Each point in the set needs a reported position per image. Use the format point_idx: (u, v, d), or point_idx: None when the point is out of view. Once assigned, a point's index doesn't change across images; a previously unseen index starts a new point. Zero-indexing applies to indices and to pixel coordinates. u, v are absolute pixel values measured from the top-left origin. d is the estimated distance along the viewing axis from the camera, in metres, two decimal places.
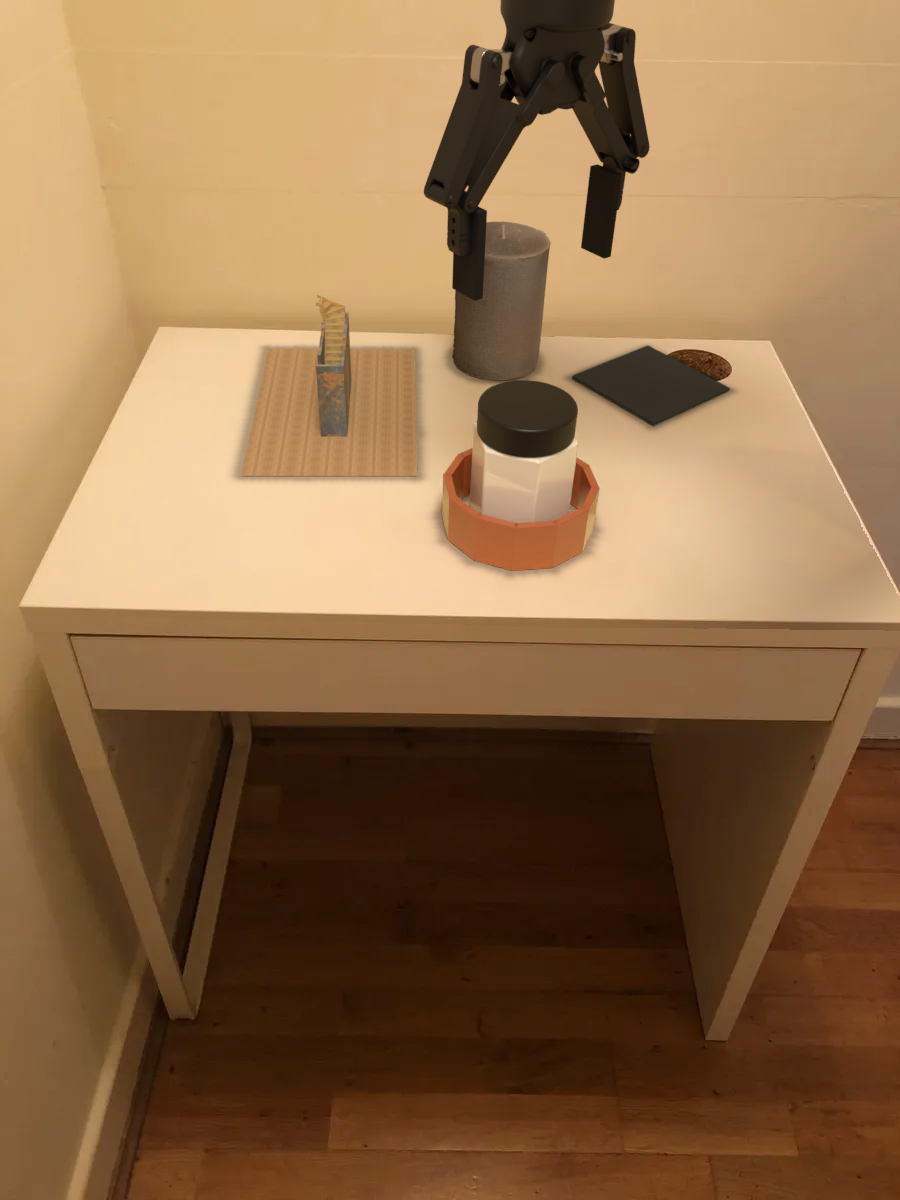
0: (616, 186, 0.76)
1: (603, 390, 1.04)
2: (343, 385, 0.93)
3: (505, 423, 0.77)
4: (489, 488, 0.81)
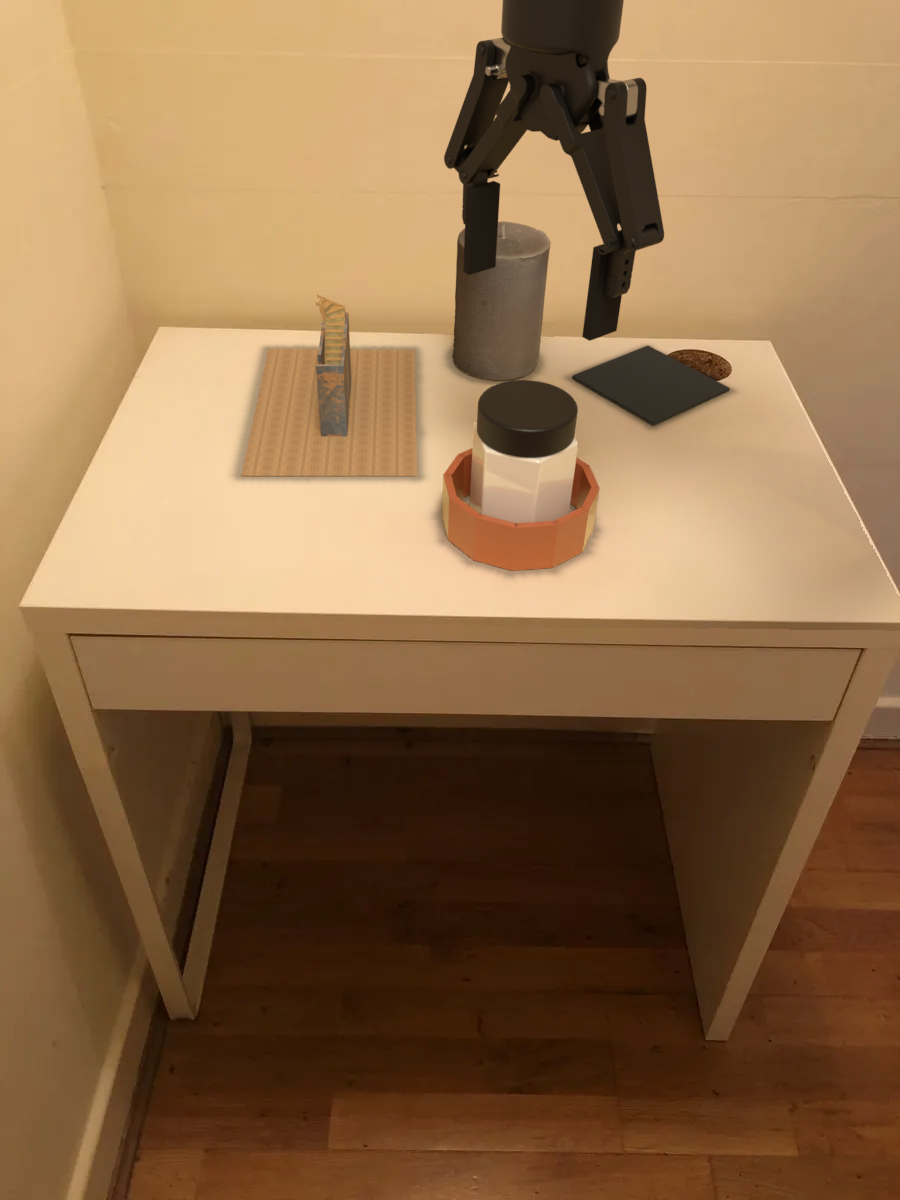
0: None
1: (603, 390, 1.04)
2: (343, 385, 0.93)
3: (505, 423, 0.77)
4: (489, 488, 0.81)
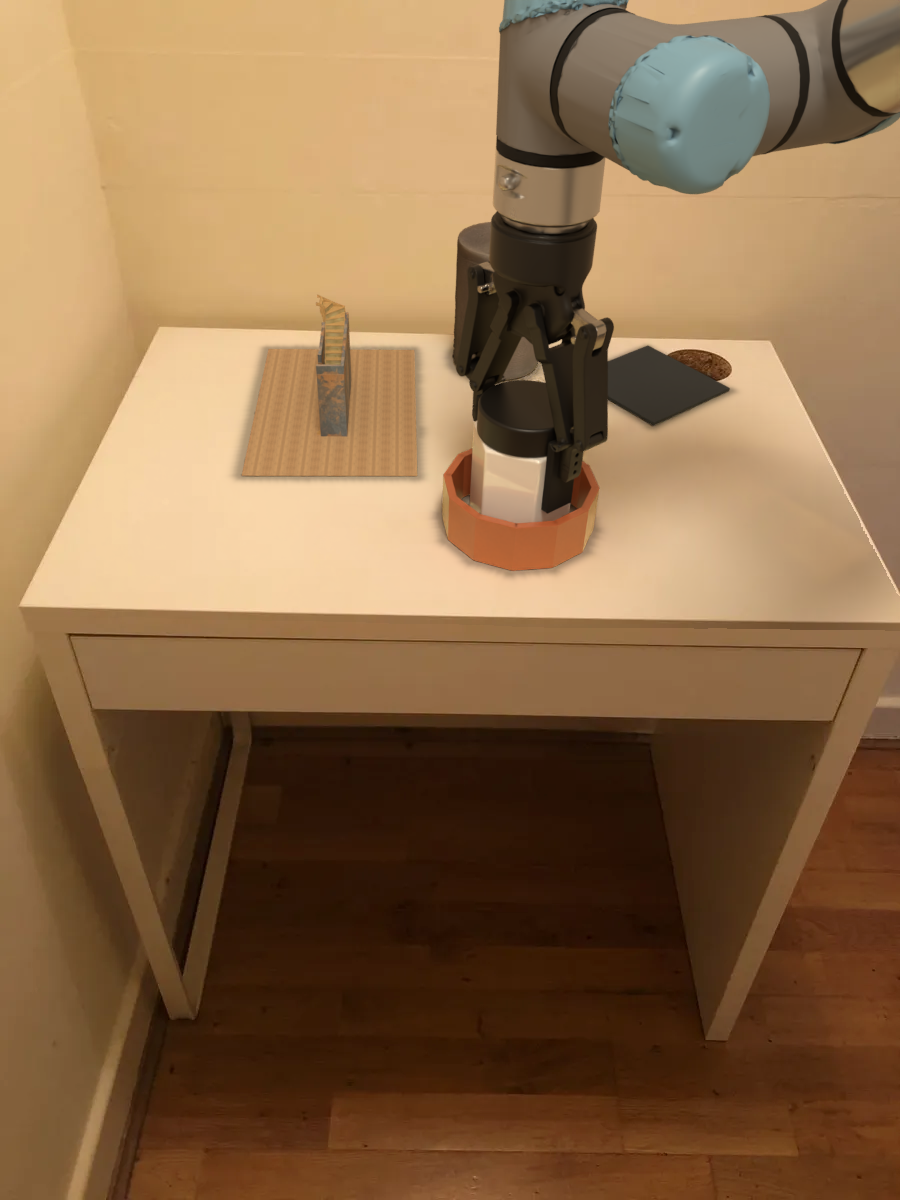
0: None
1: None
2: (343, 385, 0.93)
3: (505, 423, 0.77)
4: (489, 488, 0.81)
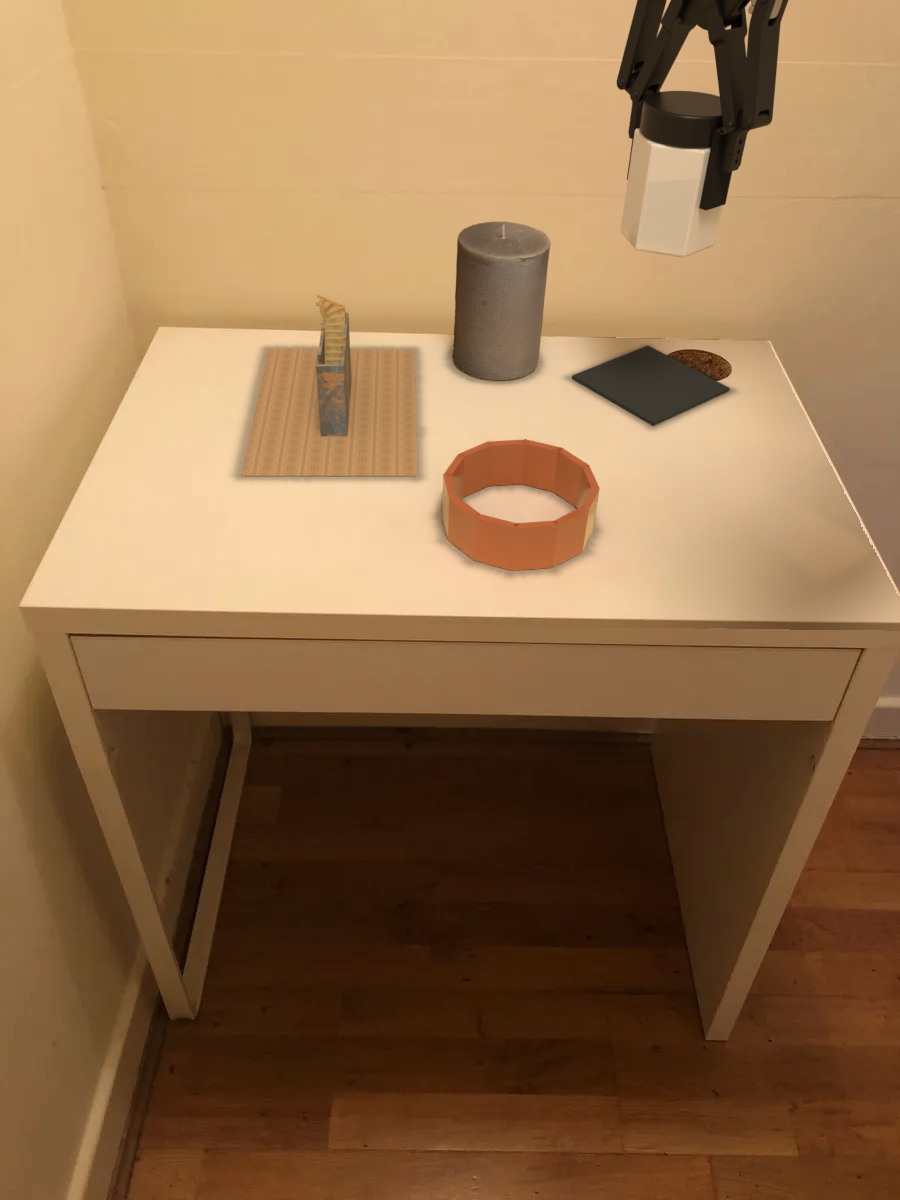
0: None
1: (603, 390, 1.04)
2: (343, 385, 0.93)
3: (674, 112, 0.83)
4: (651, 187, 0.87)
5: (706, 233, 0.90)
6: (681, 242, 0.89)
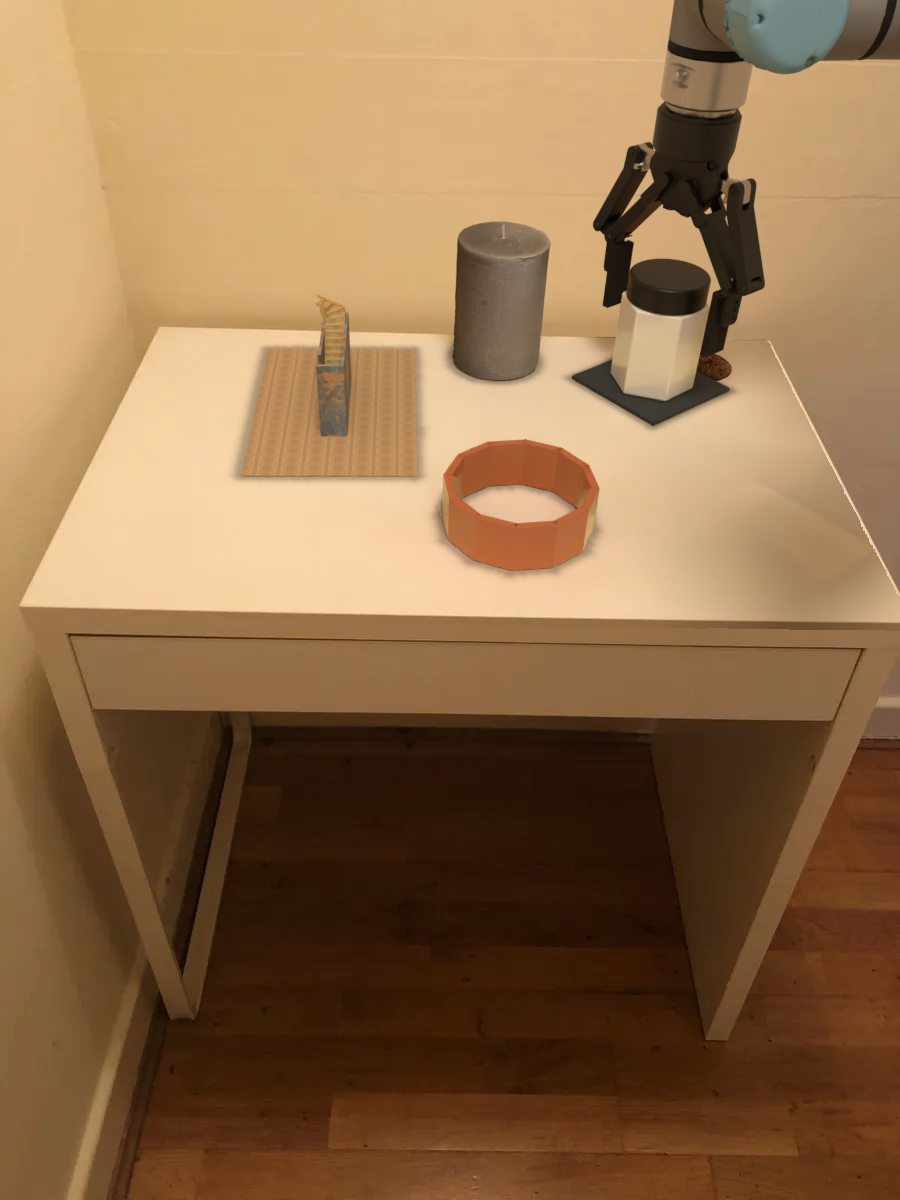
0: None
1: (603, 390, 1.04)
2: (343, 385, 0.93)
3: (655, 286, 0.96)
4: (636, 345, 1.00)
5: (685, 380, 1.03)
6: (663, 389, 1.02)
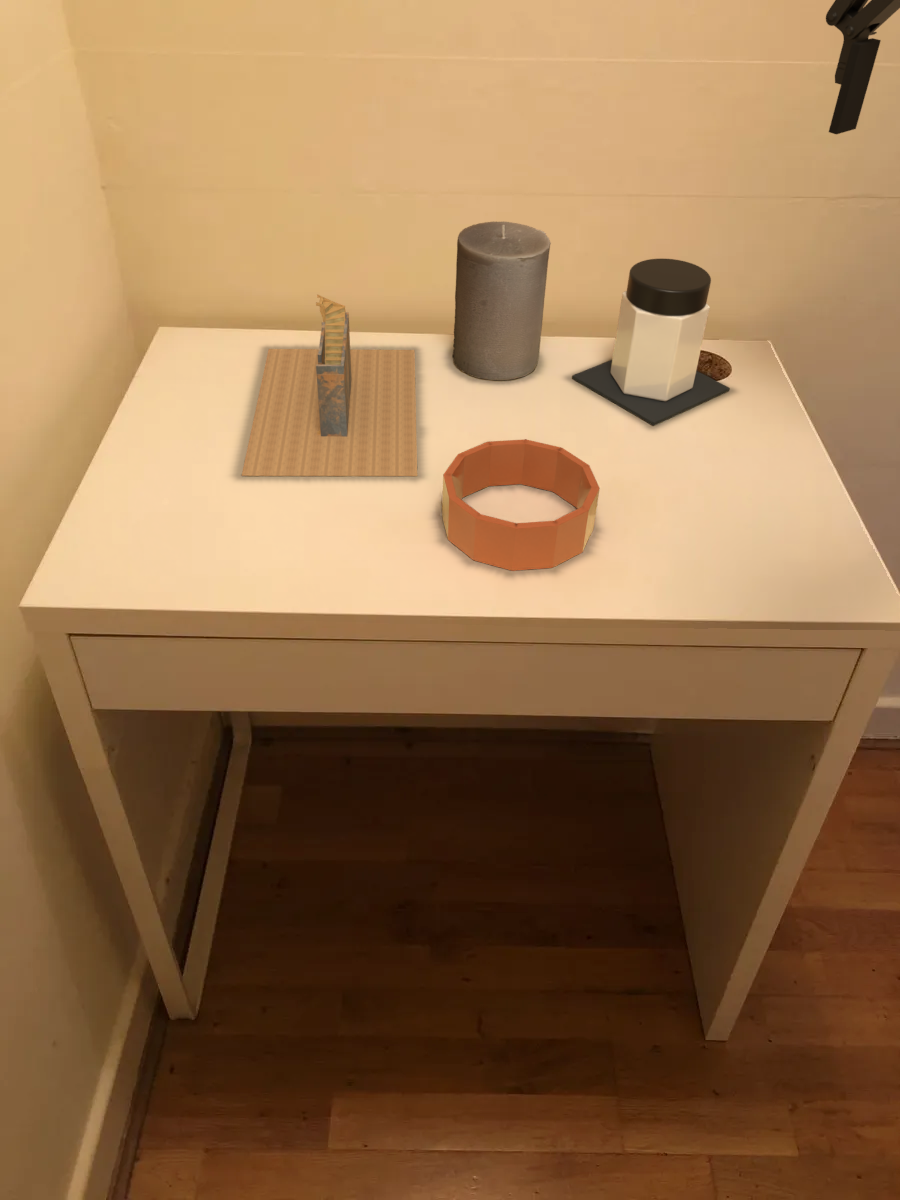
0: None
1: (603, 390, 1.04)
2: (343, 385, 0.93)
3: (655, 286, 0.96)
4: (636, 345, 1.00)
5: (685, 380, 1.03)
6: (663, 389, 1.02)
